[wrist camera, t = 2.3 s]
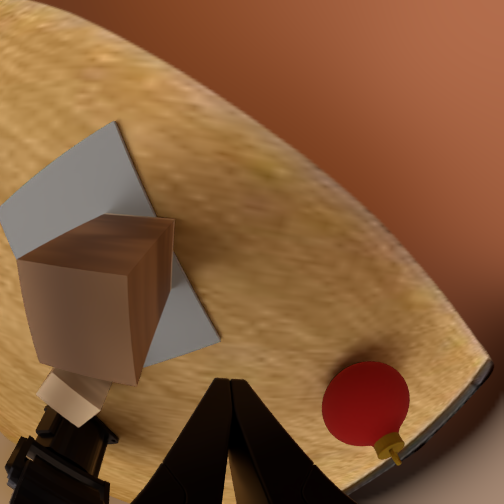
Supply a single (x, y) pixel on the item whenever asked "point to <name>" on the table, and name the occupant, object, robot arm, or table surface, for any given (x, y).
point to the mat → (91, 206)
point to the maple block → (74, 395)
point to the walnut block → (99, 294)
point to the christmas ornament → (367, 407)
